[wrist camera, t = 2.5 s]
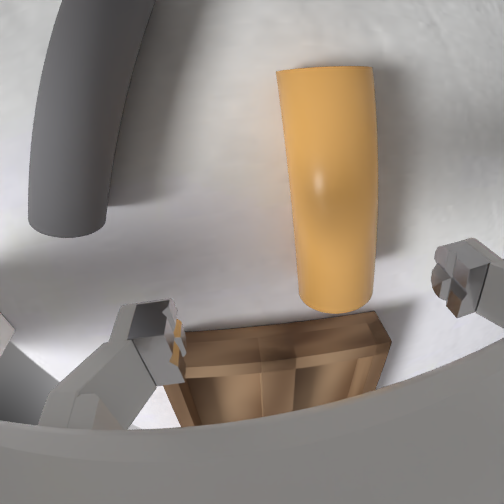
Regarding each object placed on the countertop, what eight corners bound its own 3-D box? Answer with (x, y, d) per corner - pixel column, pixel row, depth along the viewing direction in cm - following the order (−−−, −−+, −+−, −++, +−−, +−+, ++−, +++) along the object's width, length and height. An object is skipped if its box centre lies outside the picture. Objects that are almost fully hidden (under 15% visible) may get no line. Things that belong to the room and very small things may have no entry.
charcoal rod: (117, -4, 11) (54, -21, 7) (178, -7, 10) (111, -36, 6) (74, 194, 16) (14, 212, 12) (121, 221, 15) (57, 247, 11)
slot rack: (374, 310, 20) (391, 341, 18) (338, 436, 29) (344, 459, 27) (162, 333, 20) (156, 368, 17) (205, 452, 28) (206, 476, 26)
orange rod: (258, 73, 11) (361, 65, 9) (297, 71, 14) (379, 68, 12) (286, 303, 16) (362, 320, 14) (314, 263, 19) (379, 274, 17)
